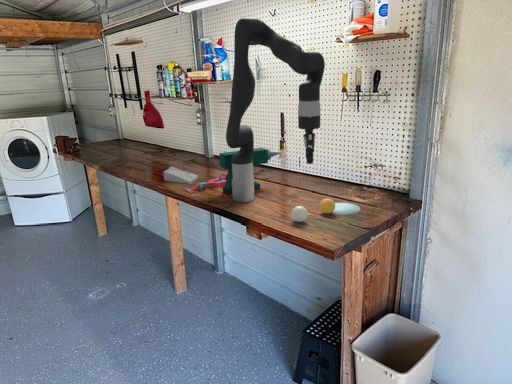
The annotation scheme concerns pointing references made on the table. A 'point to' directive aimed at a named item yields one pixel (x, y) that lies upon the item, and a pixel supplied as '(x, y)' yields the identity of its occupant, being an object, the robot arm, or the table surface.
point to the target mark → (345, 209)
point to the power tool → (258, 158)
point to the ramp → (179, 176)
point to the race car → (209, 183)
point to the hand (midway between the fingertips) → (309, 160)
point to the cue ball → (299, 213)
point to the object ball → (327, 205)
